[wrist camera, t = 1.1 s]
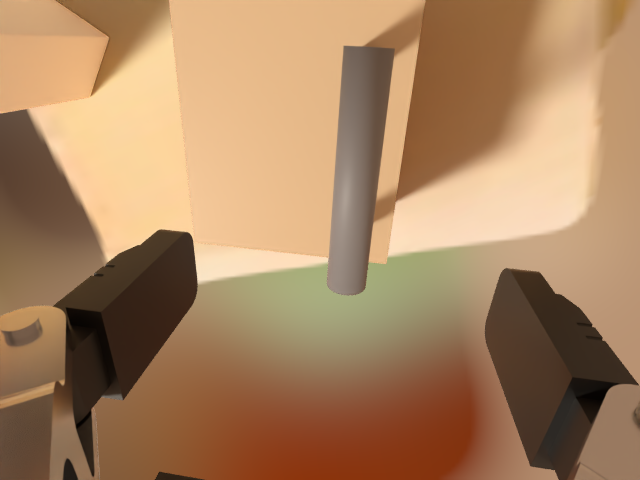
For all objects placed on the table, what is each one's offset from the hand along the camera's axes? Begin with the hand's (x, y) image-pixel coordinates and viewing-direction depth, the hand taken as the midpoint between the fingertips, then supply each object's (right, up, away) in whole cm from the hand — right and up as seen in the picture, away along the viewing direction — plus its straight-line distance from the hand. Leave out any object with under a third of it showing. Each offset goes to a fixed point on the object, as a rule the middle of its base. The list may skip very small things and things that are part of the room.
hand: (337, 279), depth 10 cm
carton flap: (-2, +8, +15) cm, 17 cm away
